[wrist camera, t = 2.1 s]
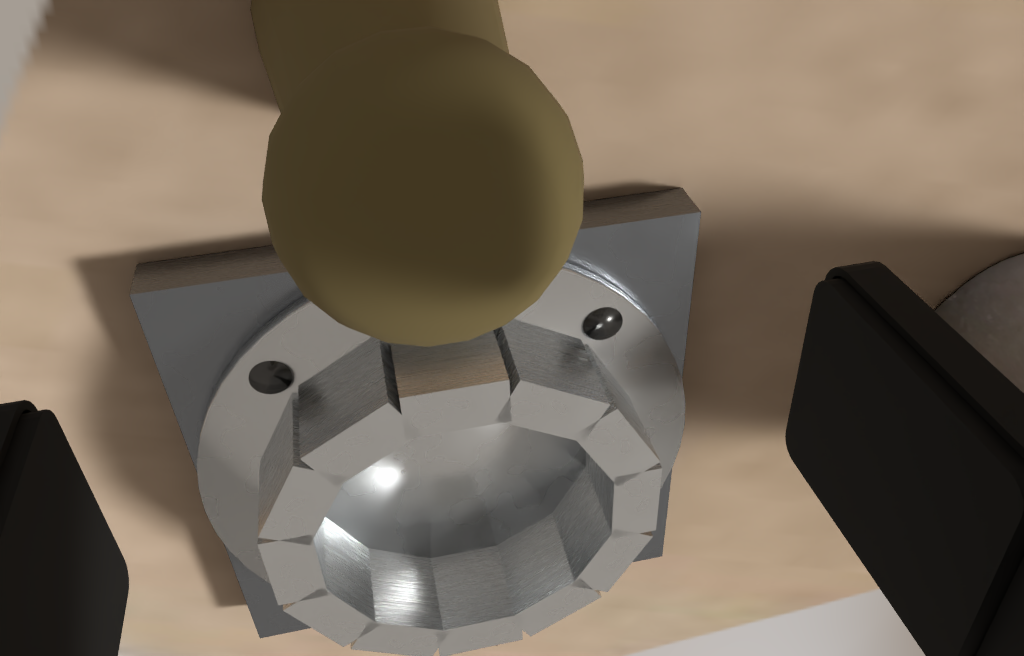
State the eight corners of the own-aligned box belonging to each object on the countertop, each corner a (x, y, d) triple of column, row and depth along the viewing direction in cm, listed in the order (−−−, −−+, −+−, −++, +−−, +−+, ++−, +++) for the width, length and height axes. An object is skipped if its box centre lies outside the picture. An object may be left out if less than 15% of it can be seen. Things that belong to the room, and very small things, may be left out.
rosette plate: (136, 264, 24) (108, 382, 20) (682, 187, 26) (753, 279, 22) (260, 604, 34) (258, 729, 30) (649, 527, 36) (695, 633, 32)
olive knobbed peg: (511, -104, 20) (677, 59, 12) (483, 135, 24) (597, 394, 15) (243, -131, 19) (211, 33, 10) (256, 128, 22) (241, 411, 14)
